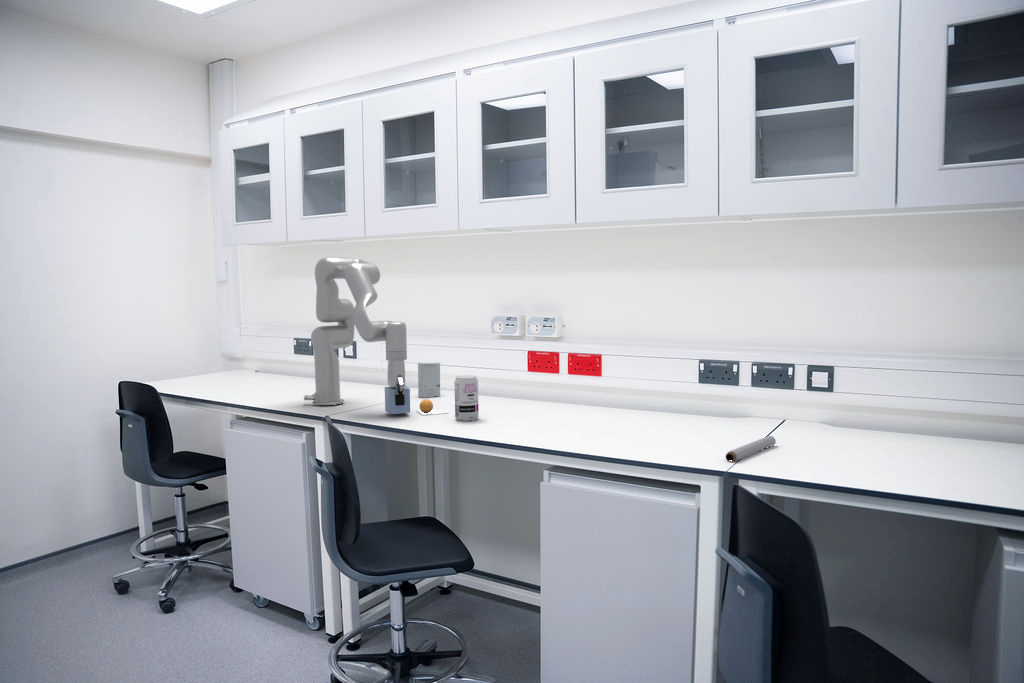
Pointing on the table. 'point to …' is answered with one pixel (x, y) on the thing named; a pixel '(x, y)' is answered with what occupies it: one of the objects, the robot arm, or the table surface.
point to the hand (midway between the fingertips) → (397, 403)
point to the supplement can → (466, 398)
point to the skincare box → (428, 379)
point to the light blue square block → (390, 401)
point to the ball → (426, 406)
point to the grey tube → (750, 448)
